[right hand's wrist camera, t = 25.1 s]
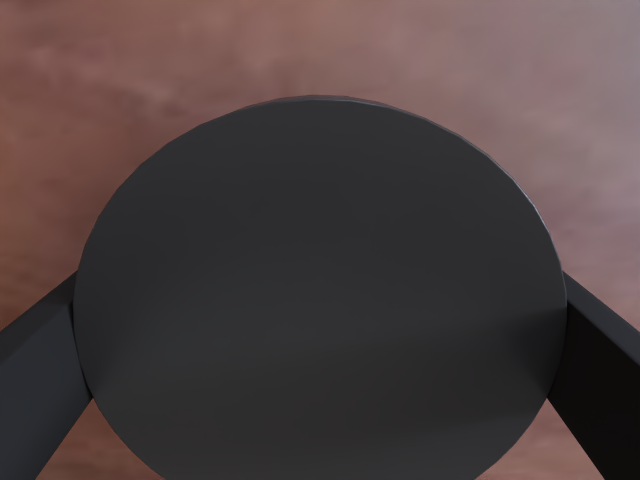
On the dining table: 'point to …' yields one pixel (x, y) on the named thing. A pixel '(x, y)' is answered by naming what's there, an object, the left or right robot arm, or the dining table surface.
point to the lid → (319, 300)
